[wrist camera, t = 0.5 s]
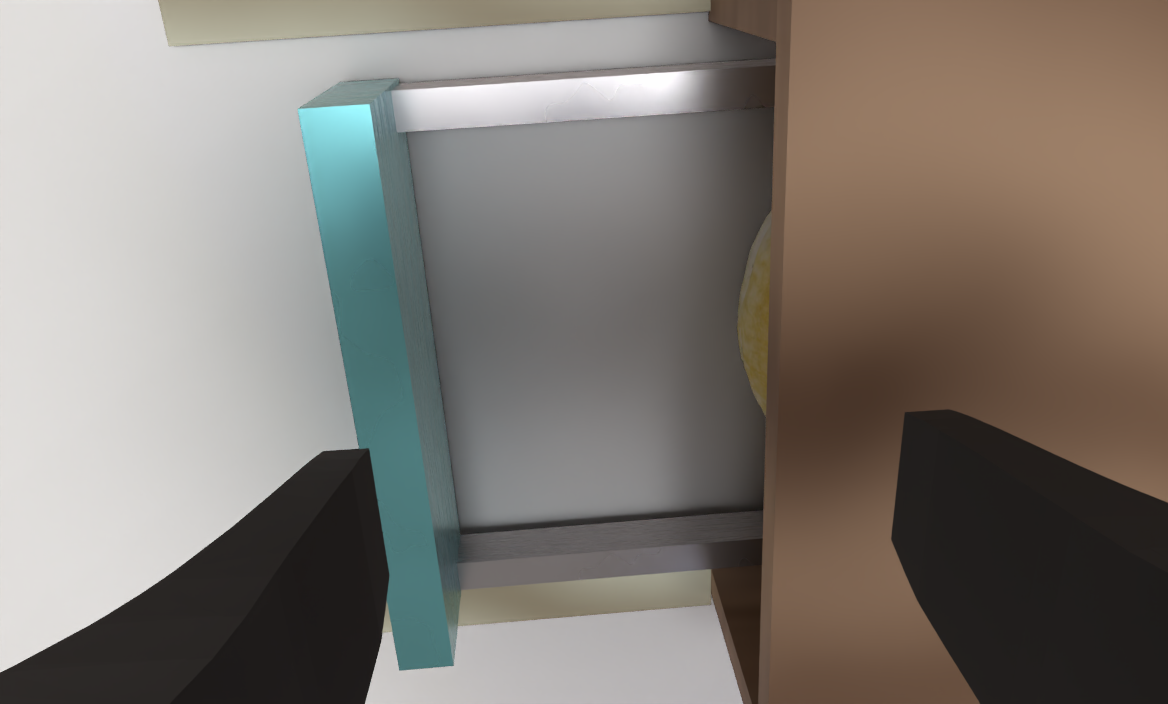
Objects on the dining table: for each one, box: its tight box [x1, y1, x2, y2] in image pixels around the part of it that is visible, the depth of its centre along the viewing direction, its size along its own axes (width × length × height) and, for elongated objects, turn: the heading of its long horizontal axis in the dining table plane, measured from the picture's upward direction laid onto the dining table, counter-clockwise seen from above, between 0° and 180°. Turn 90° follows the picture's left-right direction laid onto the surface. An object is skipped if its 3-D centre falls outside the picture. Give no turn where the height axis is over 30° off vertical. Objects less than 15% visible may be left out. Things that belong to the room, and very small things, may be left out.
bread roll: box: [737, 210, 772, 416], centre depth 20 cm, size 8×9×4 cm
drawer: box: [298, 58, 776, 670], centre depth 19 cm, size 12×19×4 cm, turn 93°
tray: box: [158, 0, 1168, 704], centre depth 19 cm, size 16×32×6 cm, turn 93°
